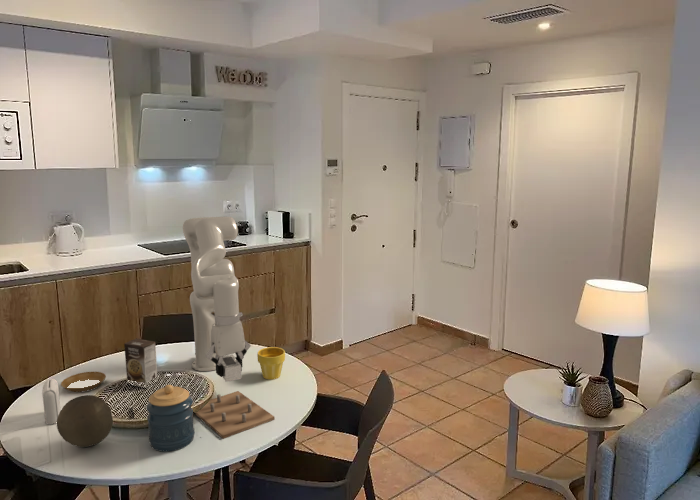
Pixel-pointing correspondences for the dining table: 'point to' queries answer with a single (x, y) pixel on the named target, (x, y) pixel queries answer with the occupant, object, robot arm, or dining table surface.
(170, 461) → the dining table surface
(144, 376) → the coffee box
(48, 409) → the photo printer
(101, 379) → the plant saucer
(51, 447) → the dining table surface
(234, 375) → the block
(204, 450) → the dining table surface
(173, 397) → the canister
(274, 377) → the plant pot
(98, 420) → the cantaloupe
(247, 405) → the wooden peg board
